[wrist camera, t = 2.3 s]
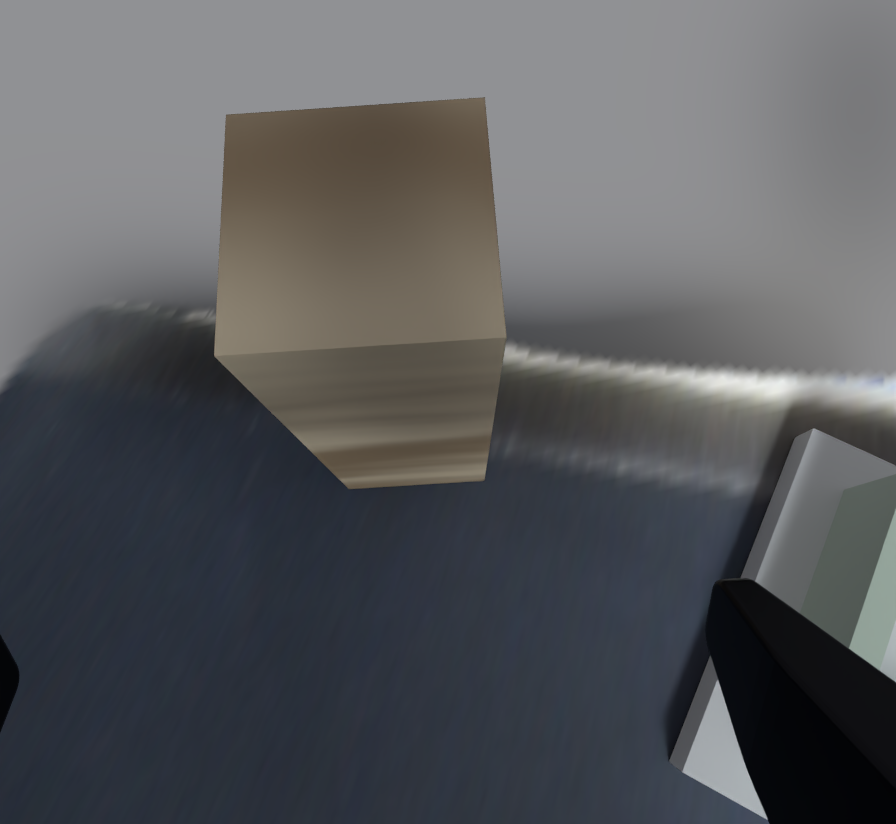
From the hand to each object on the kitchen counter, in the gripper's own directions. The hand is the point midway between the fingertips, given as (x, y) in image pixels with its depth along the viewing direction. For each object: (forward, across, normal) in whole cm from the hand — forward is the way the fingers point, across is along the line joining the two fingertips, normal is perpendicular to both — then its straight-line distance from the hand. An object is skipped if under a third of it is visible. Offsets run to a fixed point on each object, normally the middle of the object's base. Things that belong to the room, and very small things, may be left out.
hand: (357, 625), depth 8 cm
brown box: (+13, 0, +4) cm, 14 cm away
